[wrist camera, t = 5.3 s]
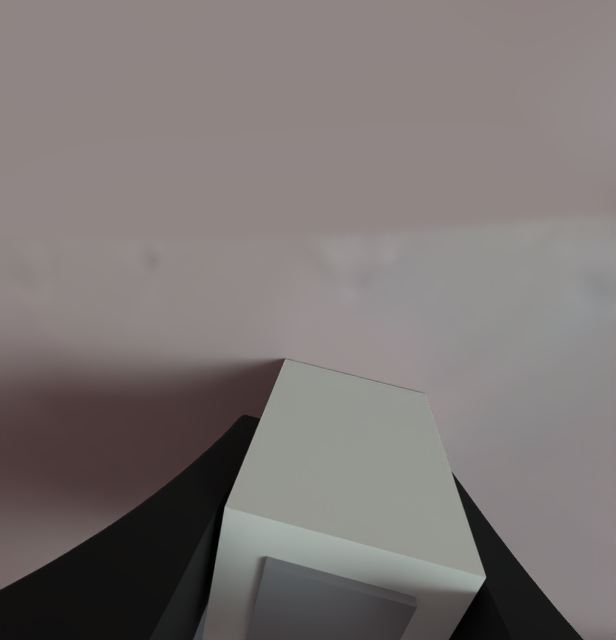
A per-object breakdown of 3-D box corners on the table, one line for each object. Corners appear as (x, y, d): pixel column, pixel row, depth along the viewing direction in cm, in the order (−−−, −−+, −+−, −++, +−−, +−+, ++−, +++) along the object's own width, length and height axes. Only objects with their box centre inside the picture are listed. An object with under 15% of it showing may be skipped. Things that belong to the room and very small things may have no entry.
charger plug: (425, 393, 10) (489, 587, 5) (383, 502, 11) (402, 729, 7) (285, 358, 10) (221, 514, 5) (261, 470, 12) (195, 670, 7)
